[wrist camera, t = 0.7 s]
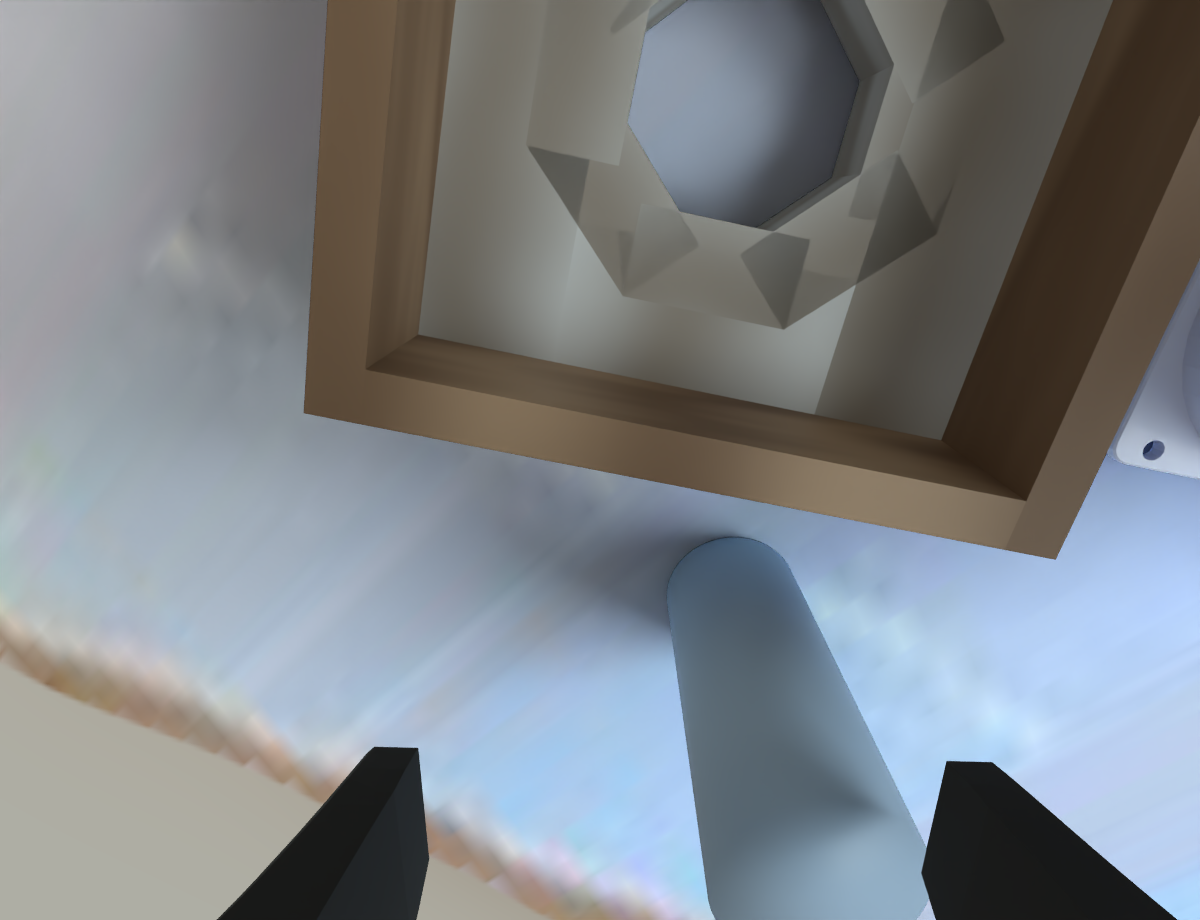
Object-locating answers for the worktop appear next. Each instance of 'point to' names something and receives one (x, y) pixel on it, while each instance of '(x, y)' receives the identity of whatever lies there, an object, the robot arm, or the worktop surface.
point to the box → (764, 256)
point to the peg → (782, 752)
